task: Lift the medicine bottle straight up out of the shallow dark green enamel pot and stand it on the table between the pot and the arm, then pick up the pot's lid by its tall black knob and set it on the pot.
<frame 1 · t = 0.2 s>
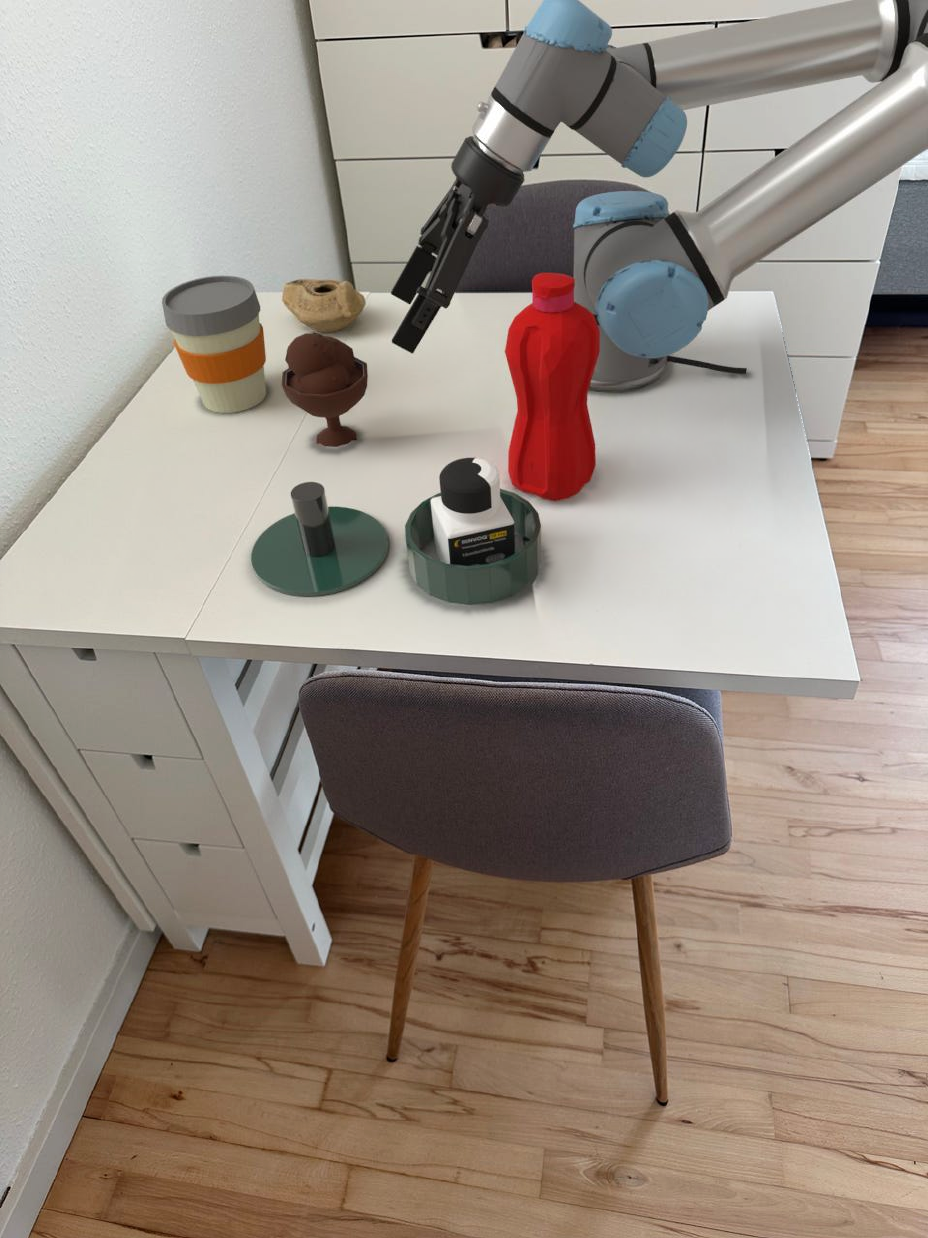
hand: (401, 321, 107), 16 cm above the table, tool tilted 35°, fingers open, 13 cm apart
pot lid: (320, 551, 101), point 1 cm above the table
pot: (475, 564, 98), on the table
water bottle: (555, 478, 110), on the table
medicine bottle: (475, 563, 98), resting on pot
reusable coffee cup: (235, 397, 129), on the table
oil lamp: (324, 325, 144), on the table
ice cream bowl: (336, 441, 119), on the table
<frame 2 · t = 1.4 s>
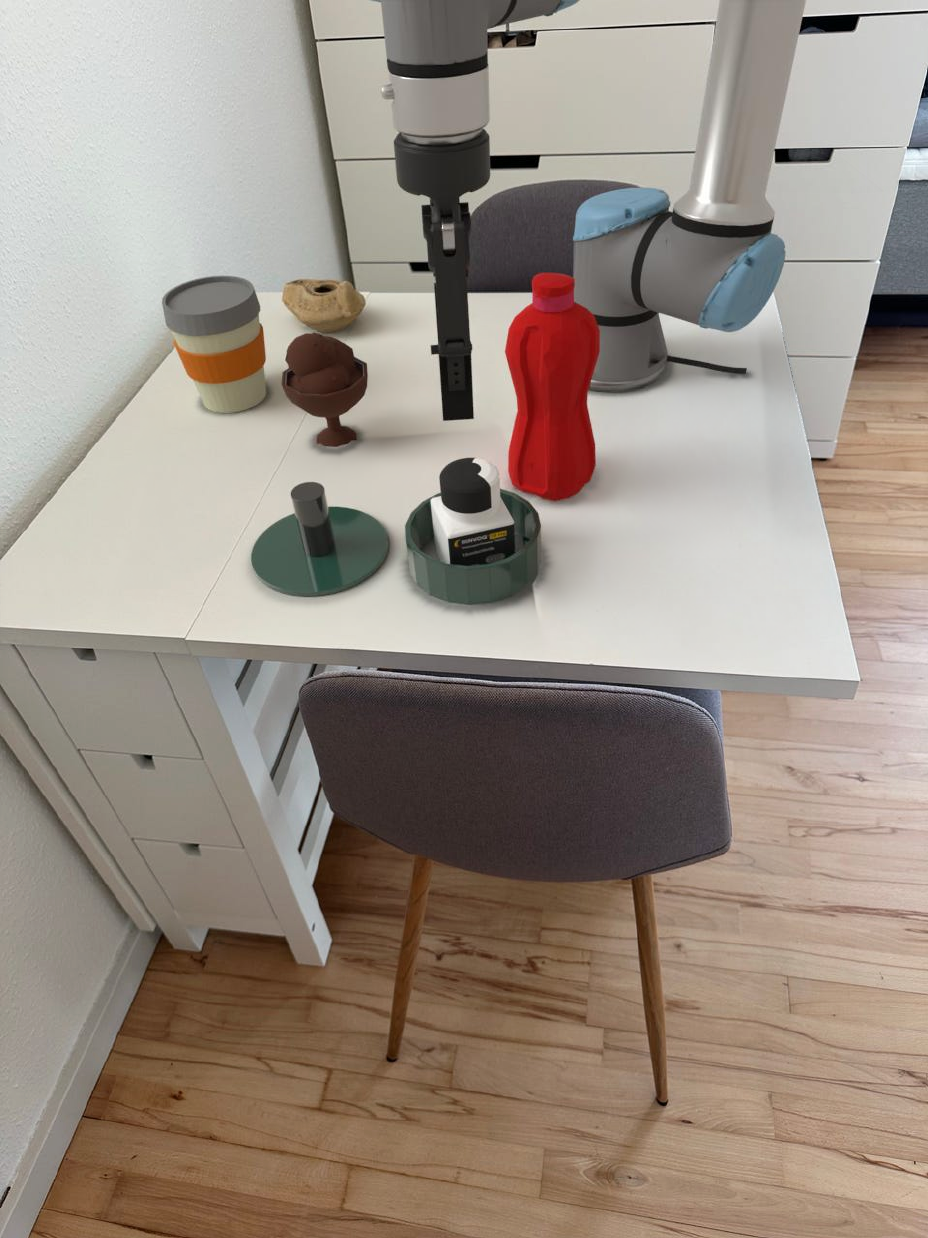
hand: (455, 381, 84), 22 cm above the table, tool pointing down, fingers open, 13 cm apart
nothing on the table moved.
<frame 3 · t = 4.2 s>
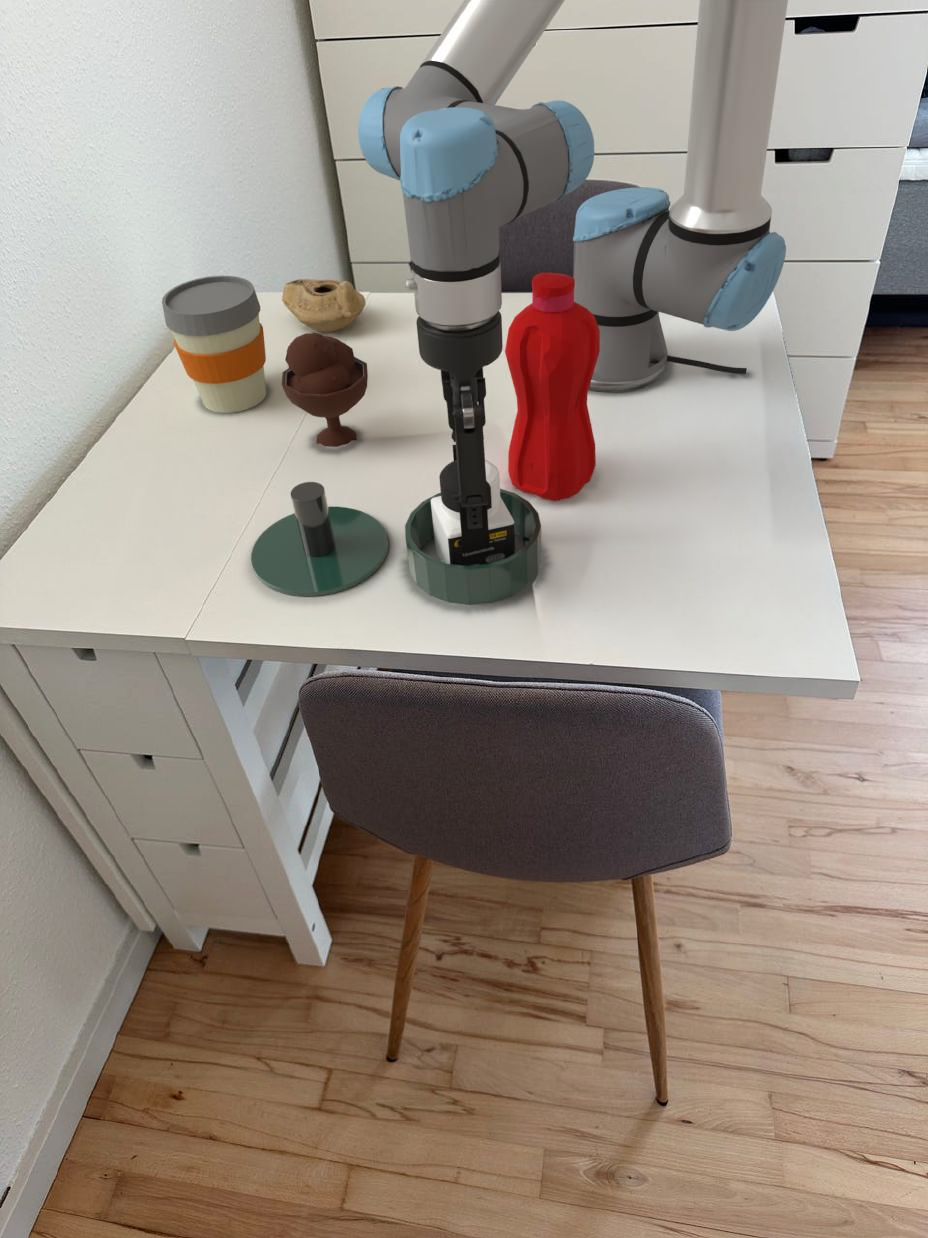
hand: (472, 521, 94), 6 cm above the table, tool pointing down, fingers closed on medicine bottle, 8 cm apart
medicine bottle: (475, 563, 98), resting on pot, touching gripper
everything else where it was.
when the fingers open (5 cm above the table, at t = 10.8 s): medicine bottle stays where it is, on the table.
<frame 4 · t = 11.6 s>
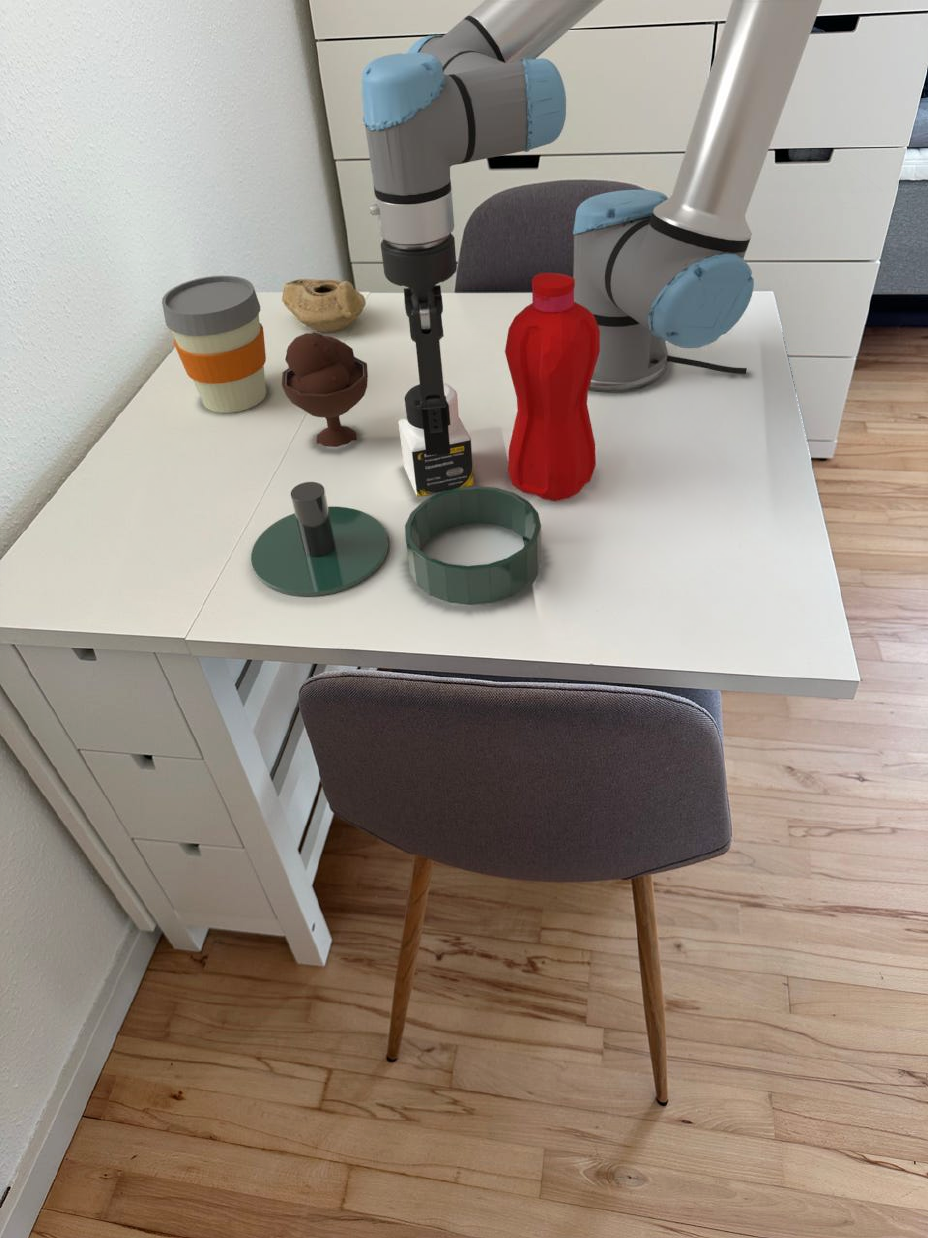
hand: (435, 420, 105), 8 cm above the table, tool pointing down, fingers open, 13 cm apart
medicine bottle: (438, 479, 111), on the table
everything else where it was.
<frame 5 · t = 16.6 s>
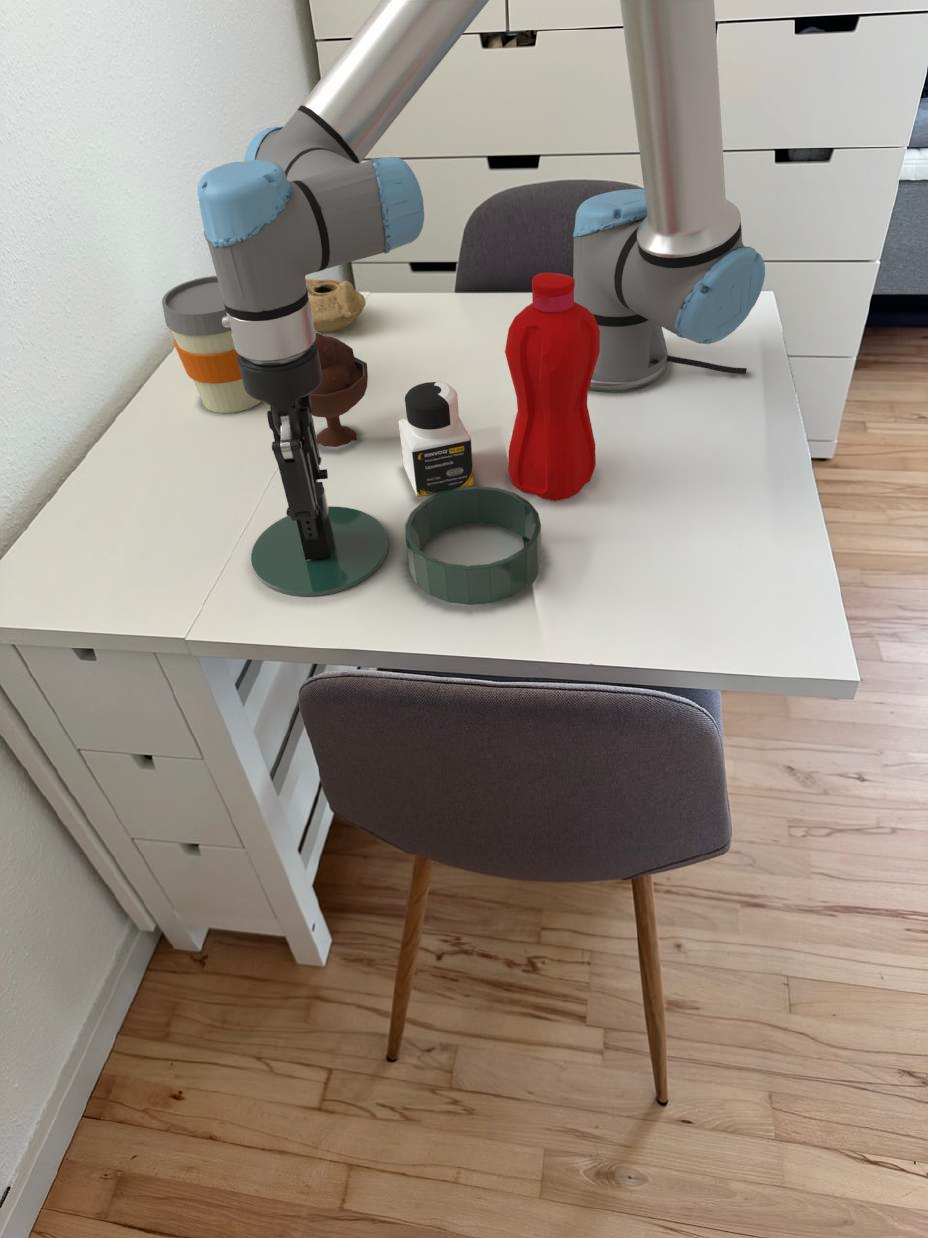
hand: (318, 544, 100), 2 cm above the table, tool pointing down, fingers closed on pot lid, 4 cm apart
pot lid: (320, 551, 101), point 1 cm above the table, touching gripper
everything else where it was.
when the fingers open (6 cm above the table, at t = 23.0 s): pot lid stays where it is, resting on pot.
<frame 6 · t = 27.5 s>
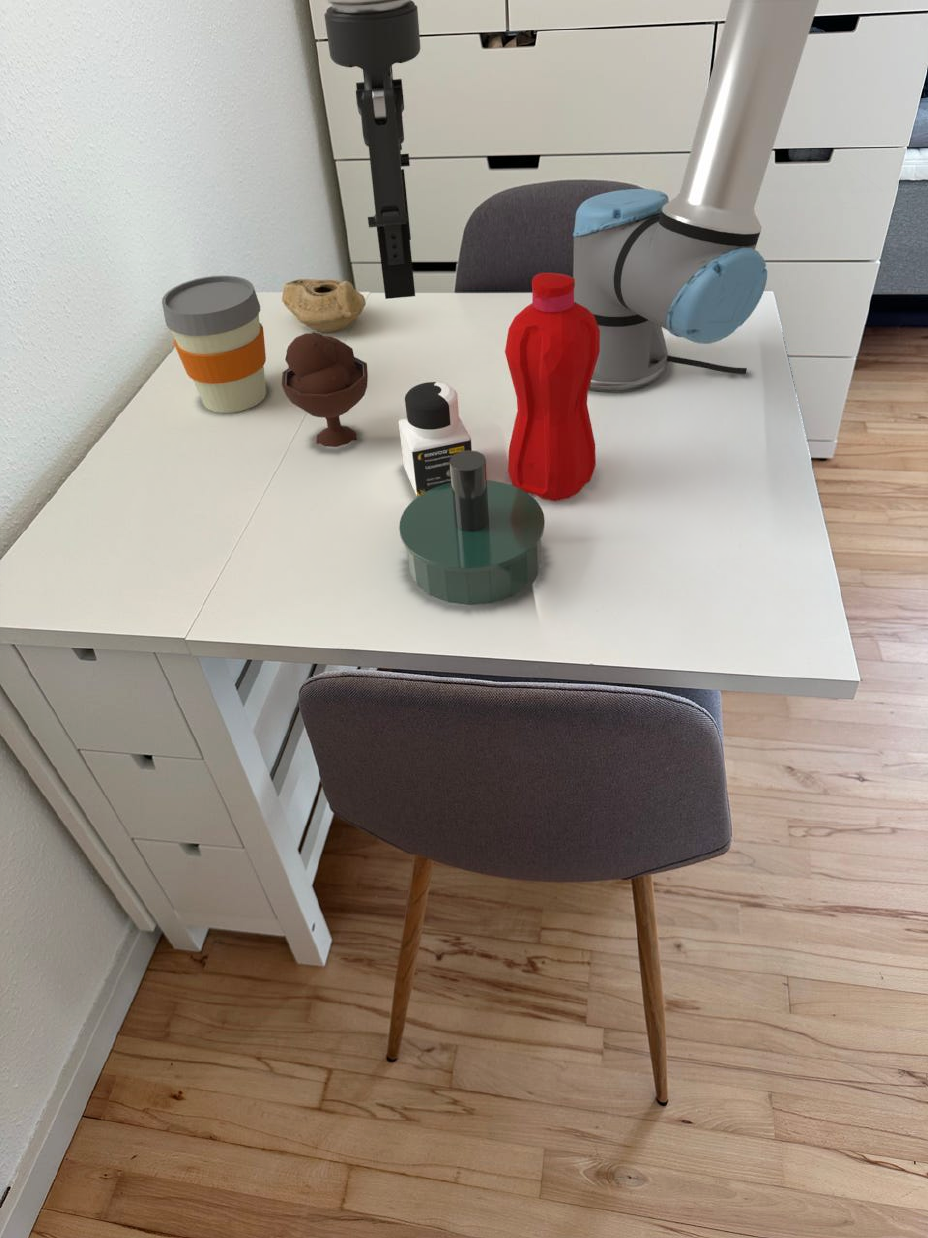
hand: (398, 266, 87), 29 cm above the table, tool pointing down, fingers open, 13 cm apart
pot lid: (472, 525, 95), point 5 cm above the table, touching pot
everything else where it was.
at the end: medicine bottle inside the target area (0.1 cm from its centre), on the table; medicine bottle tilted 0°; pot lid 0.1 cm off-centre on the pot, point 5.3 cm above the pot's base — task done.
